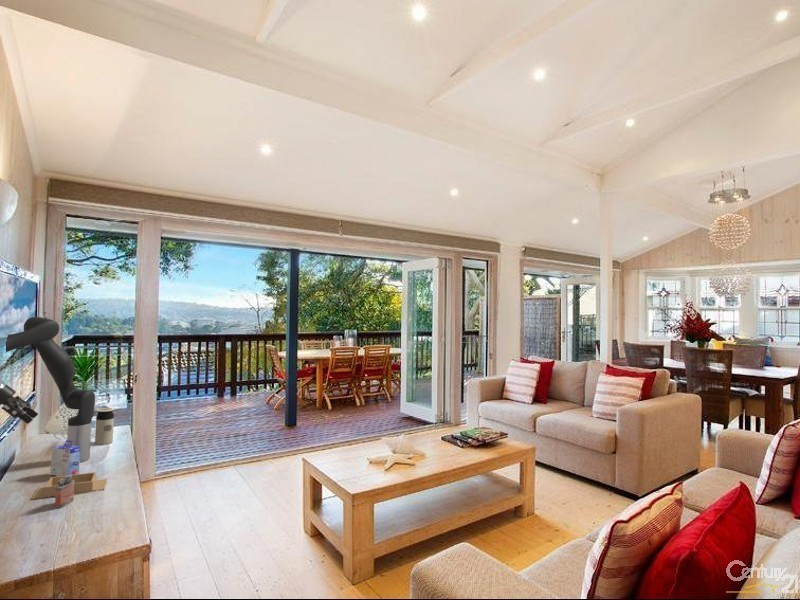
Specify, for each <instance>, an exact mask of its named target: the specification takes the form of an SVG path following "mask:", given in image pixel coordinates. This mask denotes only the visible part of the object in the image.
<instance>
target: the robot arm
mask: <svg viewBox="0 0 800 600" xmlns="http://www.w3.org/2000/svg"><path fill="white" fill-rule="evenodd" d="M59 332H60V325H59V323H58V322H57V321H55V320H54V319H51V318H46V317H42V316H41V317H40V316H32V317H29V318H28V319H26V320H25V321H24V324H23V331H20V332H16V333H10V334H7V335H8V337H7V341H6V352H5V353H8V352H11V351H13V350H17V349H20V348H22V347H26V346H30V345H33V346H34V347H35V349H36V351H37V352H38V354H39V357H40V358H41V359H42V361H43V363H44V365H45V367H46V369H47V371H48V373H49V374H50V375H51V377H52V379H53V381H54V383H55V384H56V386H57V389H58V391H59V393H60V395H61V399H62V402H63V404H64V405H65V407H66V408H68V409H69V410H78V411H77V415H75V416H72V417H70V418H68V419H67V435H66V437H67V438H66V440H71V441H73V443H72V446H81V448H80V463H82V462H86V461H88V460H89V459H90V457H91V456H90V455H91V454H90V453H91V440H92V439H91V438H92V420H93V417H94V414H95V403H96V396H95V392H94V391H93V390H90V389H78V388H77V387H76V386H75V384H74V381H73V379H74V376H75V372H76V367H75V366H76V365H74V362H73V361H72V358H71V357H70V355H69V354H68V352H66V351H65V350H64V349H63V348H62V347H61V346H60V345H59V344H58V343H56V342H55V340H54V338H55V337H56V336H58V334H59ZM16 392H17V391H16V390H14V389H13V388H11V386H9V385H8V384H7V383H5V382H4V381H3V380H1V386H0V406H1V405H3V406H2V407H1V410H3V411H5V412H6V413H7V414H8V415H10V416H11V418H14V419H19V420H21V421H22V422H24V423H25V424H30V423H31V422H32V421H33V420H34V418H36V417H37V416H39V413H38V412H37V411H36V410H34V409H33V408H32V407H31V404H30V403H29V402H28V401H26V400H24V399H23V398H21V397H20V396H18V395H16V396H14V395H15V394H16ZM66 444H71V443H70V442H67V443H66Z"/></svg>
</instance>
